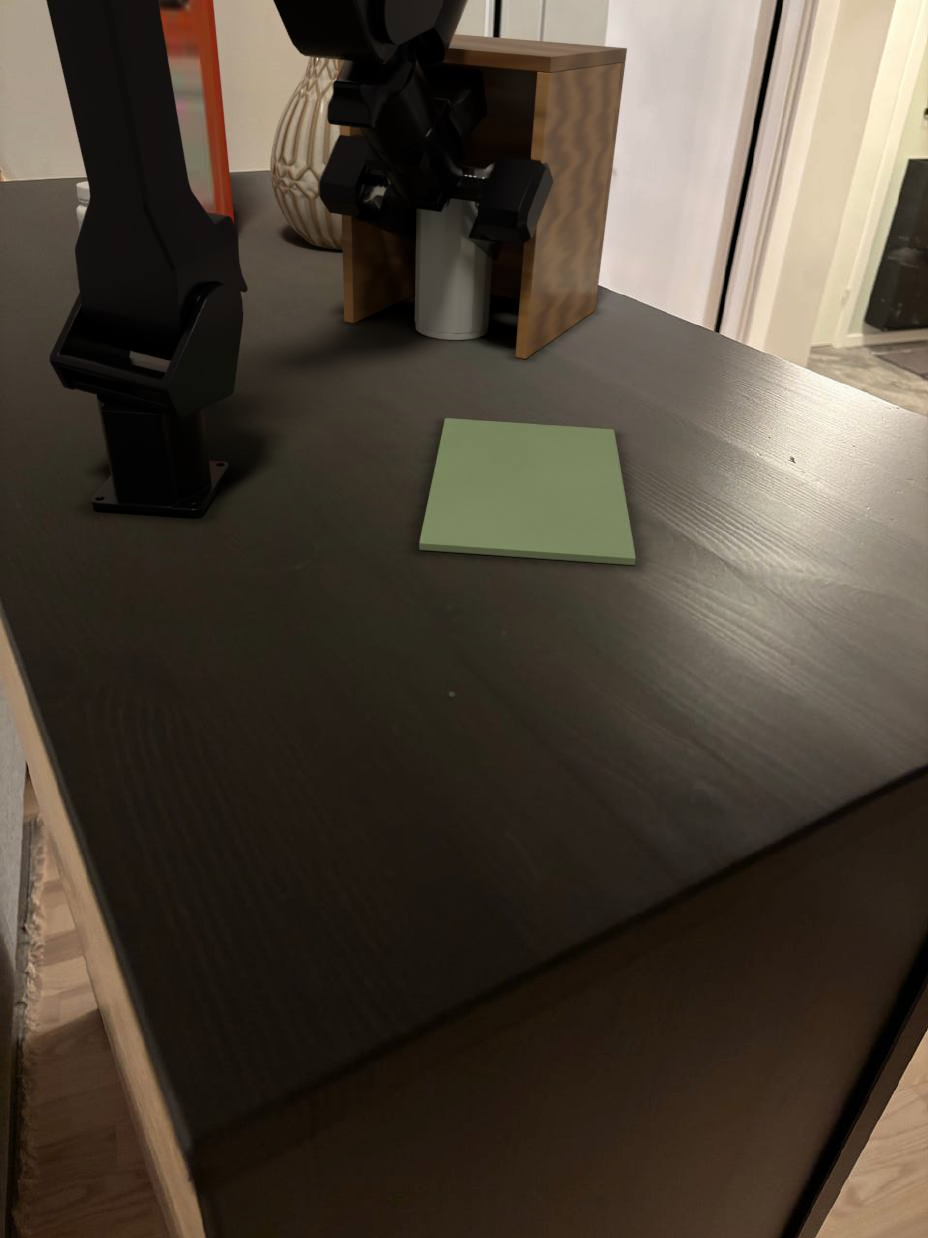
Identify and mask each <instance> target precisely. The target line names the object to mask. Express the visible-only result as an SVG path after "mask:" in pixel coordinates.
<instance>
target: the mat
mask: <svg viewBox="0 0 928 1238" xmlns="http://www.w3.org/2000/svg"><path fill="white" fill-rule="evenodd" d="M427 498H428V500H427V504H426V509H425V512H424V517H423V521H422V527H421V532H420V537H419V542H418V550H419V551H427V552H439V553H440V552H442V553H453V554H454V553H455V554H468V555H470V554H471V555H485V556H497V557H511V558H525V559H539V560H540V559H541V560H552V561H553V560H555V561H565V562H566V561H567V562H581V563H582V562H584V563H595V564H610V565H611V564H612V565H622V566H624V565H625V566H635V565H636V561H637V557H636V550H635V544H634V539H633V533H632V527H631V522H630V516H629V509H628V504H627V499H626V493H625V486H624V480H623V474H622V468H621V462H620V455H619V451H618V445H617V439H616V432H615V429H614V428H600V427H599V428H597V427H586V426H585V427H584V426H570V425H569V426H567V425H553V424H538V423H526V422H525V423H523V422H511V421H510V422H509V421H495V420H482V419H481V420H479V419H466V418H451V417H445V418H444V421H443V425H442V431H441V436H440V440H439V446H438V450H437V455H436V461H435V464H434V470H433V475H432V480H431V484H430V489H429V493H428V497H427Z"/></svg>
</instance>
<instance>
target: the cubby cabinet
mask: <svg viewBox="0 0 928 1238" xmlns="http://www.w3.org/2000/svg"><path fill="white" fill-rule="evenodd" d="M627 53H628V48H627V47H618V46H617V47H616V46H605V45H594V44H593V45H592V44H591V45H590V44H581V43H567V42H556V41H543V40H532V39H531V40H530V39H521V38H520V39H519V38H507V37H495V36H494V37H493V36H484V35H483V36H482V35H471V34H458V33H455V34H454V36H453V38H452V41H451V43H450V46H449V48H448V51H447V53H446V55H445V58H444V60H443V62H437V63H435V64H430V65H423V66H421V68H422V67H428V68H433V67H436V66H449V67H459V68H470V69H478V70H480V71H481V72H482V73H483V81H484V88H485V96H486V104H487V112H488V113H487V116H486V117H485V118H484V119H482V120H481V121H480V122H479V124H478V125H477V126H476V128H475V129H474V130H473V132H472V133H471V134H470V137H471V139H472V142H473V144H474V147H473V150H472V152H471V155H470V157H469V159H464V158H463V160H462V163H461V164H462V166H472V167H480V168H485V169H486V168H487V167H488V166H489V165H491V164H494V163H495V161H496V159H497V156H498V155H501V154H513V155H521V156H528V157H531V159H535V160H540V161H541V163H546V162H547V164H548V166H549V168H550V171H551V175H552V178H553V181H554V182H553V185H552V187H551V190H550V193H549V195H548V198H547V200H546V203H545V205H544V208H543V211H542V213H541V216H540V218H539V221H538V223H537V226H536V229H535V231H534V234H533V236H532V239H530V240H529V241H527V242H525V243H523V244H519V243H512V242H506V241H504V242H502V247H501V252H500V255H499V257H498V259H497V260H492V276H491V293H490V295H492V296H493V295H494V296H499V297H504V298H508V299H509V298H510V299H515V300H519V304H518V318H517V319H518V320H517V331H516V345H515V358H518V359H522V360H523V359H524V360H526V359H528V358H530V357H532V355H534V354H535V353H536V352H538V351H540V350H541V349H543V348H544V347H545V346H547V345H548V344H549V343H551V342H552V341H554V340H555V339H556V338H558V337H559V336H561V335H563V334H564V333H565V332H566V331H568V330H569V329H571V328H572V327H574V326H575V325H576V324H578V323H580V322H581V321H582V320H584V319H585V318H586V317H588V316H589V315H590V314H592V313H593V312H595V311H596V306H597V299H598V292H599V291H598V290H599V283H600V274H601V265H602V257H603V248H604V240H605V233H606V224H607V216H608V210H609V209H608V208H609V202H610V201H609V200H610V191H611V183H612V175H613V167H614V158H615V150H616V142H617V134H618V126H619V118H620V110H621V102H622V93H623V87H624V86H623V84H624V78H625V77H624V76H625V71H626V60H627ZM343 61H344V60H338V73H339V70H340V68H341V66H342V63H343ZM339 128H340V135H348V136H351V135H363V134H362V132H361V130H360V128H356V127H348V126H340V125H339ZM342 247H343V250H342V280H343V281H342V282H343V312H344V313H343V321H344V323H345V322H346V323H350V324H355V323H357V322H359V321H361V320H363V319H365V318H368V317H370V316H372V315H374V314H376V313H378V312H381V311H382V310H386V309H387V308H389V307H391V306H393V305H395V304H398V303H399V302H402V301H404V300H406V299H408V298H410V297H413V296H415V276H416V245H415V244H413V243H411V242H409V241H407V240H405V239H402V238H400V237H398V236H396V235H393V234H391V233H389V232H387V231H384V230H382V229H379V228H377V227H375V226H372V225H370V224H367V223H365V222H360V221H358V220H356V219H355V217H352V216H346V215H342Z"/></svg>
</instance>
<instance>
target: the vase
mask: <svg viewBox="0 0 928 1238" xmlns="http://www.w3.org/2000/svg"><path fill="white" fill-rule="evenodd" d="M337 75H338V60H336V59H325V58H315V57H309V58H308V62H307V66H306V69H305V72H304V74H303V75H302V78H301V80H300V81H299V83H298V84H297V85H296V87H295V89H294V90H293V92H292V94H291V96H290V97H289V99H288V101H287V103H286V105H285V107H284V109H283V111H282V113H281V116H280V118H279V120H278V123H277V126H276V129H275V133H274V137H273V141H272V147H271V153H270V159H269V160H270V162H269V163H270V164H269V169H270V171H269V172H270V180H271V185H272V190H273V194H274V198H275V200H276V203H277V205H278V208H279V210H280V212H281V214H282V216H283V217H284V219H285V220H286V222H287V224H288V225H289V226H290V227H291V228H292V229H293V231H295V233H296V234H298V236H300V237H301V238H302V239H303V240H304V241H306V242H307V243H308V244H310V245H312V246H315V247H319V248H323V249H329V250H330V249H331V250H342V251H343V247H342V215H340V214H334V213H330V212H329V211H328V209H327V208H326V206H325V205H324V203H323V202H322V200H321V199H320V196H319V194H318V182H319V179H320V177H321V175H322V172H323V170H324V167H325V165H326V163H327V160H328V158H329V156H330V153H331V151H332V149H333V146H334V144H335V142H336V140H337V138H338V137H339V135H340V128H339V125H332V124H330V123H329V122H328V119H327V115H328V104H329V102H330V99H331V97H332V95H333V83H334V81H335V80H336V78H337Z"/></svg>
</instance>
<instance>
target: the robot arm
mask: <svg viewBox="0 0 928 1238" xmlns="http://www.w3.org/2000/svg"><path fill="white" fill-rule="evenodd" d="M45 1H46V5H47V10H48V15H49V17H50V22H51V28H52V32H53V35H54V39H55V44H56V49H57V53H58V57H59V62H60V66H61V72H62V74H63V75H62V76H63V79H64V84H65V89H66V93H67V97H68V101H69V105H70V109H71V114H72V119H73V122H74V127H75V132H76V136H77V141H78V144H79V149H80V154H81V158H82V162H83V166H84V171H85V176H86V180H87V181H88V184H89V191H90V199H89V202H88V205H87V208H86V211H85V215H84V218H83V221H82V224H81V227H80V230H78V234H77V237H76V240H75V244H74V255H75V265H76V273H77V282H78V283H77V284H78V288H79V289H78V290H79V292H78V294H77V297H76V298H75V301H74V303H73V305H72V307H71V310H70V312H69V314H68V316H67V318H66V320H65V323H64V325H62V329H61V330H60V333H59V335H58V338H57V339H56V341H55V344H54V346H53V347H52V349H51V352H50V354H49V363H50V365H51V367H52V369H53V371H54V373H55V374H56V376H57V378H58V380H59V381H60V383H61V386H62V387H63V388H65V389H68V390H70V391H71V390H72V391H73V390H76V391H77V390H78V391H80V392H84V393H88V394H92V395H96V400H97V406H98V411H99V412H98V413H99V418H100V422H101V428H102V434H103V435H102V436H103V440H104V445H105V450H106V456H107V461H108V462H107V463H108V467H109V473H110V476H109V477H108V478H107V479H106V480H105V482H104V483H103V484H102V485H101V486H100V487H99V489H98V490H97V491H96V493H95V494H94V495H93V496H92V497H91V498H90V502H91V507H92V508H93V509H96V510H104V511H105V510H106V511H118V512H119V511H120V512H134V513H146V514H147V513H148V514H149V513H150V514H161V515H177V516H188V517H189V516H190V517H195V516H196V517H197V516H200V515H203V514H204V513H205V511H206V509H207V507H208V506H209V505H210V503H211V501H212V499H213V498H214V496H215V495H216V493H217V491H218V490H219V488H220V487H221V485H222V483H223V482H224V480H225V478H226V477H227V476H228V474H229V472H230V464H229V463H228V462H226V461H222V460H221V461H219V460H210V453H209V445H208V436H207V427H206V419H205V411H204V410H205V408H207V407H210V406H212V405H213V404H216V403H218V402H219V401H222V400H224V399H226V398H228V397H231V396H232V395H233V394H234V392H235V384H236V377H237V370H238V363H239V355H240V348H241V340H242V333H243V332H242V331H243V325H244V304H243V297H242V293H247V292H248V289H249V288H248V285H247V283H246V280H245V278H244V276H243V271H242V267H241V263H240V254H239V253H240V251H239V250H240V247H239V233H238V229H237V227H236V225H235V221H234V222H233V220H232V218H231V217H230V216H226V215H221V214H215V213H209V212H206V211H205V209H204V208H203V206H202V205H201V204H200V202H199V201H198V199H197V198H196V196H195V195H194V193H193V192H192V190H191V187H190V184H189V180H188V175H187V169H186V163H185V157H184V151H183V145H182V139H181V133H180V127H179V121H178V115H177V109H176V103H175V97H174V91H173V85H172V79H171V73H170V67H169V61H168V55H167V49H166V43H165V37H164V31H163V25H162V19H161V13H160V7H159V1H158V0H45ZM272 1H273V3H274V5H275V8H276V10H277V12H278V15H279V17H280V19H281V22H282V23H283V26H284V29H285V31H286V34H287V35H288V38H289V40H290V41H291V44H292V46H294V48H295V49H296V50H297V51H298V52H299V54H300V55H302V56H304V57H309V58H310V57H315V58H325V59H336V60H344V61H343V63H342V66H341V68H340V70H339V73H338V75H337V78H336V80H335V81H334V83H333V95H332V97H331V99H330V102H329V104H328V115H327V119H328V122H329V123H330V124H332V125H340V126H348V127H356V128H360V130H361V132H362V134H363V135H351V136H348V135H339V137H338V138H337V140H336V142H335V144H334V146H333V149H332V151H331V153H330V156H329V158H328V160H327V163H326V165H325V167H324V170H323V172H322V175H321V177H320V179H319V182H318V194H319V196H320V199H321V200H322V202H323V203H324V205H325V206H326V208H327V209H328V211H329V212H330V213H334V214H340V215H346V216H352V217H355V219H356V220H358V221H360V222H365V223H367V224H370V225H372V226H375V227H377V228H379V229H382V230H384V231H387V232H389V233H391V234H393V235H396V236H398V237H400V238H402V239H405V240H407V241H409V242H411V243H413V244H415V245H416V213H417V209H423V210H430V211H436V212H442V210H443V207H447V206H448V205H449V203H450V200H451V199H458V200H465V201H472V202H475V203H474V205H475V208H476V210H478V213H477V217H476V219H475V222H474V224H473V227H472V229H471V232H470V234H469V239H470V240H471V241H472V242H473V243H475V244H476V245H477V246H478V247H479V248H480V249H481V250H482V251H483V252H484V253H485V254H486V255H487V256H488V257H490V258H491V259H493V260H497V259H498V257H499V255H500V252H501V247H502V242H504V241H506V242H512V243H519V244H523V243H525V242H527V241H529V240H530V239H532V236H533V234H534V231H535V229H536V226H537V223H538V221H539V218H540V216H541V213H542V211H543V208H544V205H545V203H546V200H547V198H548V195H549V193H550V190H551V187H552V185H553V182H554V181H553V178H552V175H551V171H550V168H549V166H548V164H547V162H546V163H541V161H540V160H535V159H531V157H528V156H521V155H513V154H501V155H498V156H497V159H496V161H495V163H494V164H491V165H489V166H488V167H487V168H486V169H476V168H469V167H463V166H462V164H461V163H462V160H463V158H464V159H469V157H470V155H471V152H472V150H473V147H474V144H473V142H472V139H471V137H470V134H471V133H472V132H473V130H474V129H475V128H476V126H477V125H478V124H479V122H480V121H481V120H482V119H484V118H485V117H486V116H487V113H488V112H487V104H486V96H485V88H484V81H483V73H482V72H481V71H480V70H478V69H470V68H459V67H449V66H436V67H433V68H428V67H422V68H421V66H423V65H430V64H435V63H437V62H443V60H444V58H445V55H446V53H447V51H448V48H449V46H450V43H451V41H452V38H453V36H454V34H456V31H457V29H458V26H459V24H460V23H461V22H460V21H461V19H462V16H463V14H464V12H465V10H466V7H467V5H468V2H469V0H272ZM131 352H132V353H136V354H140V355H144V356H149V357H153V358H157V359H160V360H164V361H169V364H168V366H165V365H161V364H158V363H153V362H149V361H145V360H140V359H137V358H132V357H130V356H131Z"/></svg>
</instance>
